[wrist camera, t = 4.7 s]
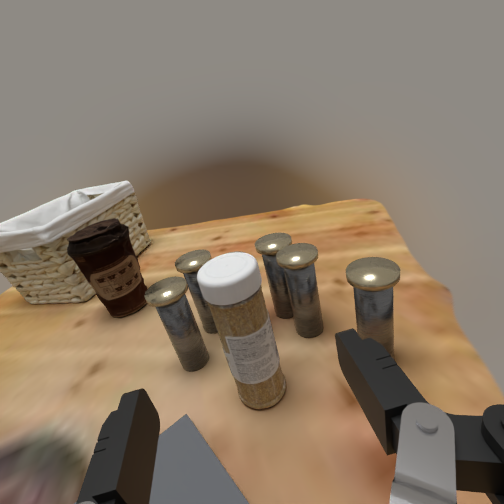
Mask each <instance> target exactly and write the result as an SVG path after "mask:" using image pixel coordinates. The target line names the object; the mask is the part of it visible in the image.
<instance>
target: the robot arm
mask: <svg viewBox="0 0 504 504" xmlns="http://www.w3.org/2000/svg"><path fill="white" fill-rule="evenodd" d="M335 338H336V345H337V352H338V359H339V364H340V367H341V370H342V372H343V374H344V376H345V378H346V380H347V382H348V384H349V386H350V387H351V389H352V391H353V393H354V395H355V397H356V399H357V400H358V402H359V404H360V406H361V408H362V410H363V412H364V413H365V415H366V417H367V419H368V421H369V423H370V425H371V426H372V428H373V430H374V432H375V434H376V436H377V437H378V439H379V441H380V443H381V445H382V447H383V449H384V450H385V452H386V454H387V455H390V454H394V453H396V454H397V460H396V469H395V477H394V480H393V482H392V488H391V495H390V504H457V499H456V490H460V491H470V492H481V493H486V495H487V496H488V498H489V499H490V501H491V502H492V504H504V405H492V406H490V407H488V408H487V409H486V410H485V411H484V413H483V416H467V415H453V414H448V413H445V412H443V411H442V410H441V409H439V408H437V407H436V406H433V405H431V404H429V403H428V402H427V401H426V400H425V399H424V398H423V396H422V395H421V394H420V393H419V391H418V390H417V389H416V387H415V386H414V385H413V384H412V382H411V381H410V380H409V379H408V377H407V376H406V375H405V373H404V372H403V371H402V370H401V368H400V367H399V366H398V365H397V363H396V362H395V361H394V359H393V358H392V357H391V356H390V354H389V353H388V352H387V350H386V349H385V348H384V346H383V345H382V344H380V343H378V342H377V341H375V340H374V339H372V338H367V339H364V340H362V339H361V338H360V336H359V335H358V333H357V332H356V331H355V330H354V329H349V330H346V331H342V332H339V333H336V334H335ZM159 432H160V419H159V415H158V412H157V410H156V408H155V407H154V405H153V403H152V401H151V400H150V398H149V396H148V394H147V392H146V391H145V390H144V389H139V390H135V391H132V392H128V393H125V394H123V395H122V397H121V400H120V403H119V407H118V410H116V411H113V412H111V413H110V415H109V416H108V418H107V419H106V421H105V422H104V424H103V425H102V428H101V431H100V434H99V437H98V443H96V446H95V449H94V455H92V458H91V461H90V464H89V467H88V470H87V473H86V476H85V479H84V482H83V485H82V488H81V491H80V494H79V497H78V500H77V503H76V504H149V501H150V494H151V487H152V480H153V473H154V466H155V460H156V453H157V446H158V439H159Z"/></svg>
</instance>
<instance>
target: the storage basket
mask: <svg viewBox="0 0 504 504" xmlns="http://www.w3.org/2000/svg"><path fill="white" fill-rule="evenodd" d="M113 218H116V219H119V222H120V223H121V224H124V225H126V226H128V227H129V228H128V229H129V237H130V241H131V244H132V247H133V249H134V252H135V255H136V256H137V255H138V254H139V253H140V252H141V251H142V250H143V249H145V248H146V246H147V245H149V244H150V242H151V240H150V239H149V235H148V233H147V229H146V226H145V224H144V221H143V217H142V214H141V213H140V209H139V205H138V203H137V198H136V195H135V191H134V189H133V187H132V185H131V183H130V182H129V181H123V182H118V183H112V184H107V185H101V186H95V187H90V188H85V189H81V190H75V191H72V192H71V193H69V194H67V195H65V196H62V197H59V198H57V199H55V200H52V201H50V202H48V203H46V204H43V205H41V206H39V207H37V208H35V209H32V210H30V211H28V212H26V213H23V214H21V215H19V216H16V217H14V218H11V219H9V220H7V221H4V222H2V223H0V272H1V273H2V274H3V275H4V276H5V277H7V279H8V280H9V282H10V283H11V284H12V285H13V287H16V289H17V290H18V291H19V292H20V294H21V295H22V296H23V297H24V298H25V300H26V301H27V302H29V303H30V304H40V303H41V304H47V303H52V304H54V303H70V302H72V303H78V302H83V301H87V300H88V299H90V298H91V297H92V296H93V295H95V294H96V292H95V290H94V289H93V287H92V286H91V285H90V284H89V283H88V281H87V280H86V278H85V276H84V275H83V274H82V272H81V271H80V269H79V268H78V266H77V264H76V263H75V261H74V260H73V259H72V258H71V257H70V256H69V255H68V253H67V247H68V245H69V241H67V239H68V237H70V236H72V235H74V234H75V233H76V232H77V231H79V230H81V229H83V228H85V227H87V226H89V225H92V224H94V223H97V222H100V221H104V220H108V219H113Z"/></svg>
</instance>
